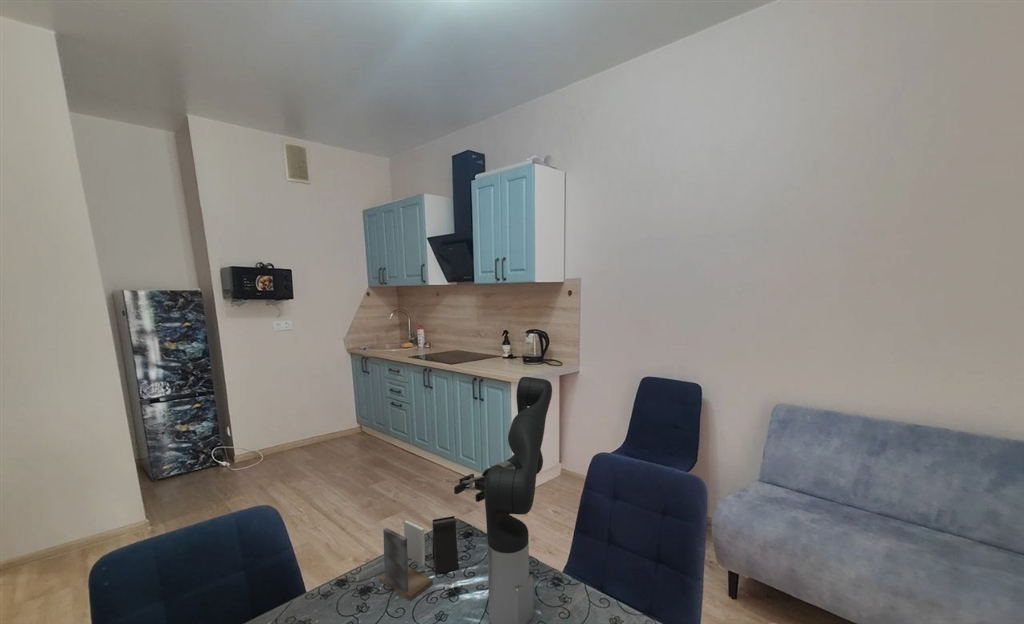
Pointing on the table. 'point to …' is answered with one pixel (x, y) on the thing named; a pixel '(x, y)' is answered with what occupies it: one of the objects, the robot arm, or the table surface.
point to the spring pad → (415, 542)
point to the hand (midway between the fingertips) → (465, 494)
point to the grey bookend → (401, 568)
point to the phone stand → (444, 545)
